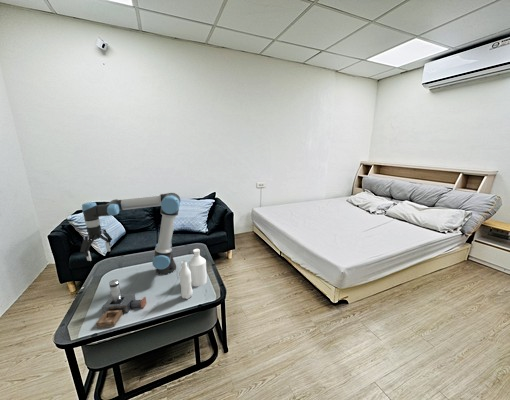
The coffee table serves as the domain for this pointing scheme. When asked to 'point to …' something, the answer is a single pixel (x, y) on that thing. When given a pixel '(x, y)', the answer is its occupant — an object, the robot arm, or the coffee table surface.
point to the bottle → (198, 269)
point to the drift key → (138, 303)
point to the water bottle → (185, 281)
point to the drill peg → (115, 291)
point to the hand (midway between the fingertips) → (99, 255)
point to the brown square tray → (109, 318)
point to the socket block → (122, 306)
